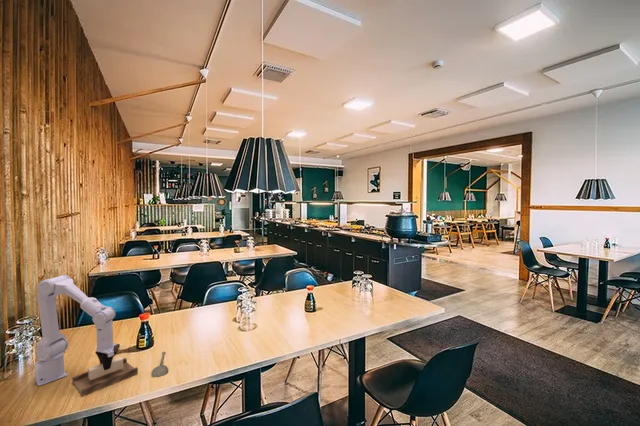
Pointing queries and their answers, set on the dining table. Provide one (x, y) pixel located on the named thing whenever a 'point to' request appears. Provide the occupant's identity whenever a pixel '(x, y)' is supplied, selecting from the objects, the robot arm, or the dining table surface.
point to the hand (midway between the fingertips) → (105, 367)
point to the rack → (102, 379)
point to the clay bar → (99, 370)
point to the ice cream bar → (116, 348)
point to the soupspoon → (160, 369)
